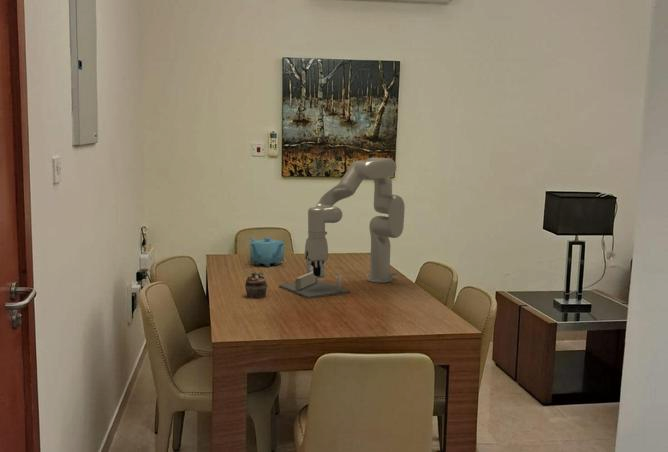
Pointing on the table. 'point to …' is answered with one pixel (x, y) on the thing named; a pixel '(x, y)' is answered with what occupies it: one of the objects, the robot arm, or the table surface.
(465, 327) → the table surface
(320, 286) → the gate base
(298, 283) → the bar
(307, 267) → the medicine box
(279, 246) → the teakettle
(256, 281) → the cupcake
